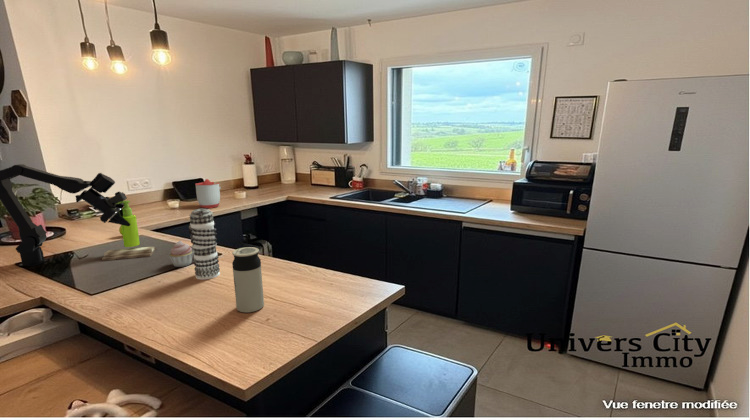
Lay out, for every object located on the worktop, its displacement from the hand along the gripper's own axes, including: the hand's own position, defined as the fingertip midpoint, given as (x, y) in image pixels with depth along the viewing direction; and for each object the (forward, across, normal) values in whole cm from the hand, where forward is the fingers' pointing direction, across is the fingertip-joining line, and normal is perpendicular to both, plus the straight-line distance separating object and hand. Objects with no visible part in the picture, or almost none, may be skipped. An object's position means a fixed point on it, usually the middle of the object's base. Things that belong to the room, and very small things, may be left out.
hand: (131, 223), depth 165 cm
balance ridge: (+8, -3, +10) cm, 14 cm away
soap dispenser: (+6, 0, +8) cm, 10 cm away
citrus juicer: (+29, +99, -11) cm, 104 cm away
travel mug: (+40, -76, -22) cm, 89 cm away
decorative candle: (+31, -42, -13) cm, 54 cm away
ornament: (+3, +33, +16) cm, 36 cm away
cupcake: (+24, -26, -6) cm, 36 cm away
